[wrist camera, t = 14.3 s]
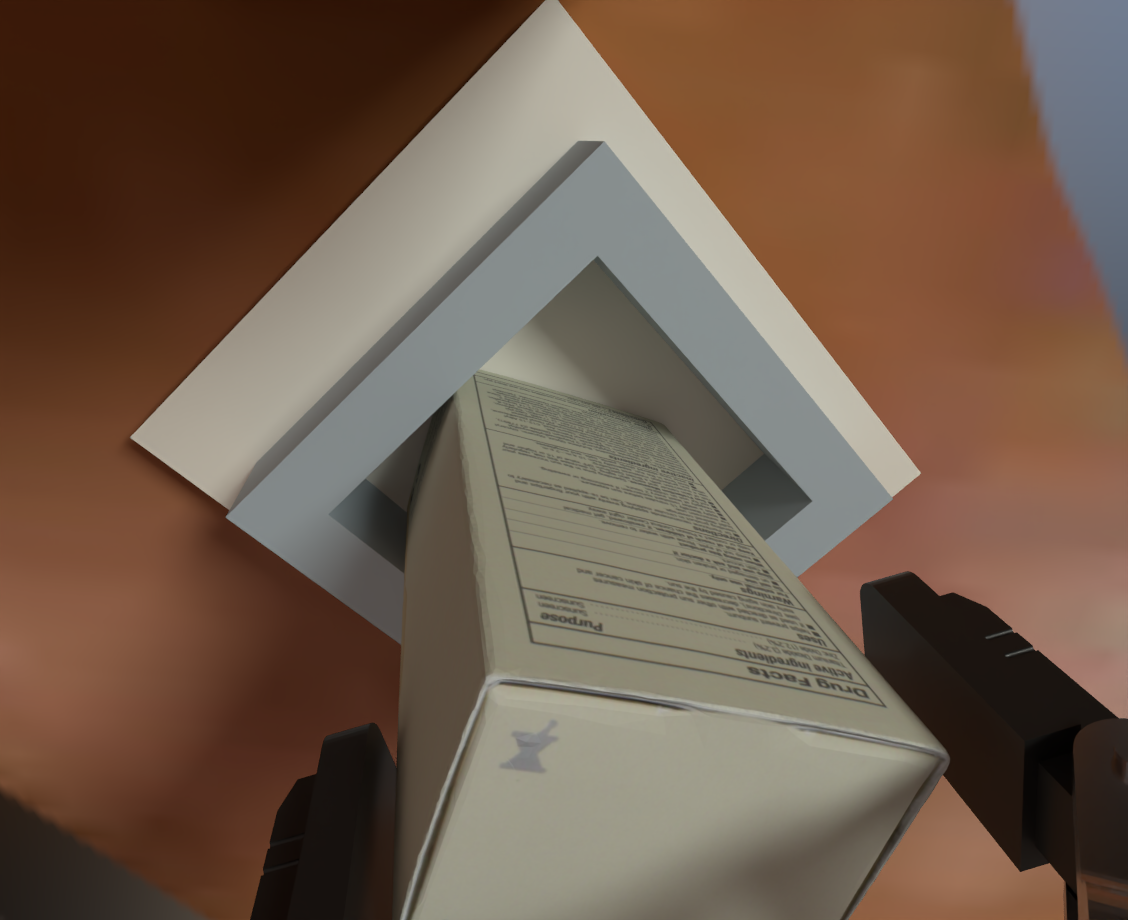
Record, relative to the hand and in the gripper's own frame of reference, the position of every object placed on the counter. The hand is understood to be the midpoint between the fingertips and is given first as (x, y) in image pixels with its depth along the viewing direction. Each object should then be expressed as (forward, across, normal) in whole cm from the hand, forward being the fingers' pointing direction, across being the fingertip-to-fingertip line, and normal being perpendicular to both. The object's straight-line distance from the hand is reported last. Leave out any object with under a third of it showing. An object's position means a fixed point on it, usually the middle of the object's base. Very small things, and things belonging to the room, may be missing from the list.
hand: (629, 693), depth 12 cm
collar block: (+10, 0, 0) cm, 10 cm away
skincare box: (+9, 0, 0) cm, 9 cm away
